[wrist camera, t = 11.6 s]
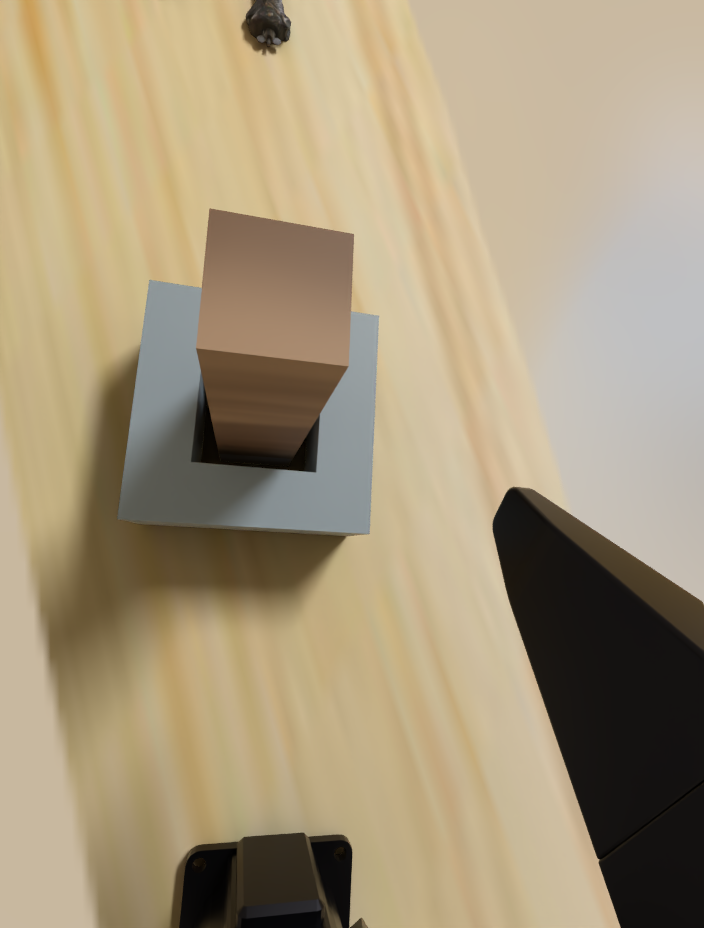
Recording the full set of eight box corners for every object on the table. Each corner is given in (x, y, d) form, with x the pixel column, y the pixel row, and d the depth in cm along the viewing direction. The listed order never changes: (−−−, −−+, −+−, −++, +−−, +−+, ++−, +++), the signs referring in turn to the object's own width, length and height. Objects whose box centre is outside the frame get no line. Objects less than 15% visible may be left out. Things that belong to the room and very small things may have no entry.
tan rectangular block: (287, 466, 22) (348, 366, 10) (220, 461, 22) (196, 348, 9) (291, 403, 23) (353, 234, 11) (226, 397, 22) (209, 208, 10)
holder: (347, 536, 23) (369, 533, 19) (139, 524, 21) (117, 518, 17) (356, 352, 24) (378, 315, 20) (164, 325, 22) (149, 280, 18)
